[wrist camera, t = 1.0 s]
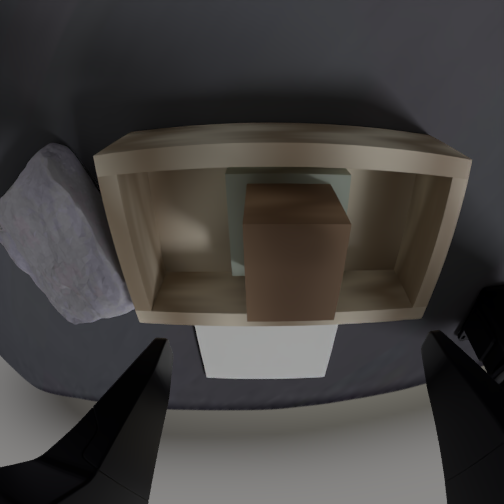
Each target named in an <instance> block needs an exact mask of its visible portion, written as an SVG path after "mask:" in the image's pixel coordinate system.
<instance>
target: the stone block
mask: <svg viewBox="0 0 504 504" xmlns="http://www.w3.org/2000/svg"><path fill="white" fill-rule="evenodd" d="M0 243H1V244H2V245H3V246H4V247H5V249H6V250H7V252H8V253H9V256H10V257H11V258H12V260H13V261H14V262H15V264H16V265H17V266H18V267H19V268H20V269H21V270H23V271H24V272H26V273H28V274H30V276H31V278H32V279H33V281H34V282H35V283H36V285H37V286H38V287H39V288H40V289H41V290H42V291H43V292H44V293H45V294H46V296H47V297H48V299H49V301H50V302H51V303H52V305H53V306H54V307H55V308H56V309H57V310H58V311H59V312H60V313H61V314H62V315H63V317H65V318H66V319H67V321H69V322H71V323H73V324H78V323H86V322H94V321H96V320H98V319H100V318H111V317H115V316H119V315H123V314H125V313H128V312H129V311H131V310H133V309H135V307H134V305H133V302H132V299H131V296H130V293H129V290H128V287H127V284H126V281H125V278H124V275H123V272H122V269H121V265H120V262H119V259H118V256H117V252H116V249H115V245H114V242H113V238H112V235H111V231H110V227H109V224H108V220H107V216H106V212H105V208H104V204H103V200H102V196H101V194H100V193H99V191H98V190H97V188H96V187H95V185H94V184H93V182H92V180H91V178H90V177H89V175H88V174H87V172H86V171H85V169H84V167H83V166H82V164H81V162H80V161H79V160H78V158H77V157H76V156H75V154H74V153H73V152H72V151H71V150H70V149H69V148H68V147H67V146H64V145H61V144H57V143H49V144H47V145H46V146H45V147H43V148H42V149H40V150H39V151H38V152H37V153H36V154H35V155H34V156H33V157H32V158H31V159H30V161H29V162H28V163H27V165H26V168H25V169H24V170H23V171H22V172H21V173H20V175H19V177H18V179H17V180H16V181H15V182H14V184H13V185H12V186H11V187H10V188H9V190H8V191H7V192H6V193H5V194H4V196H3V197H1V198H0Z"/></svg>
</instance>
